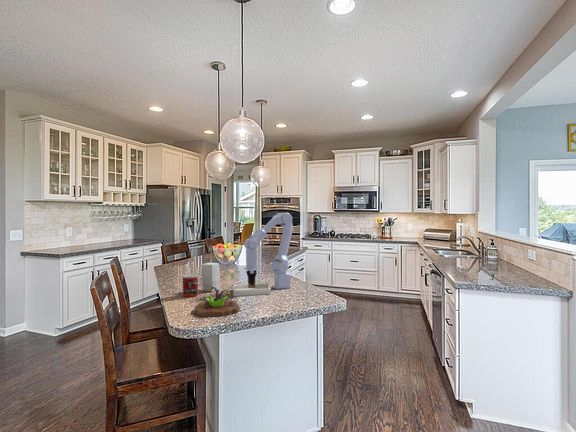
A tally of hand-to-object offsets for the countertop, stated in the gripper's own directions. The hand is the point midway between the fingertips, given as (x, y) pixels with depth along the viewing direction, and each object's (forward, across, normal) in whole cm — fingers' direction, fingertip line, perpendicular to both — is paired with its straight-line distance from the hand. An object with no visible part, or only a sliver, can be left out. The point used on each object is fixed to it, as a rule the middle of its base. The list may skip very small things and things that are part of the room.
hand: (251, 284), depth 175 cm
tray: (+4, 0, 0) cm, 4 cm away
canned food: (+5, +1, -33) cm, 33 cm away
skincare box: (+5, -9, -23) cm, 25 cm away
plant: (+5, +30, -17) cm, 35 cm away
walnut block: (+2, 0, 0) cm, 2 cm away
